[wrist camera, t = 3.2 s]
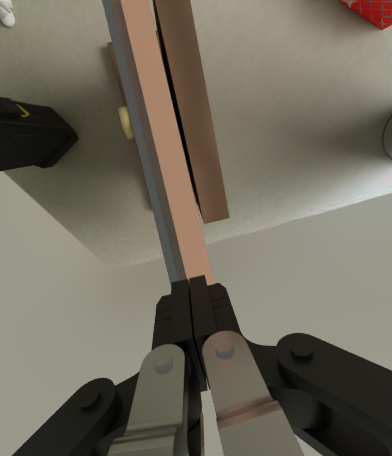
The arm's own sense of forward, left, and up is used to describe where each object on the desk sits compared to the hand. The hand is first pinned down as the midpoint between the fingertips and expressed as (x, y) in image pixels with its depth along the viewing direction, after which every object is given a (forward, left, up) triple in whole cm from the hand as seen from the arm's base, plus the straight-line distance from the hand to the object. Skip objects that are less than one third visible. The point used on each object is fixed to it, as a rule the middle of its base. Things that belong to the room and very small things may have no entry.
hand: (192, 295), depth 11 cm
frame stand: (0, -8, -32) cm, 33 cm away
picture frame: (0, -3, -22) cm, 22 cm away
